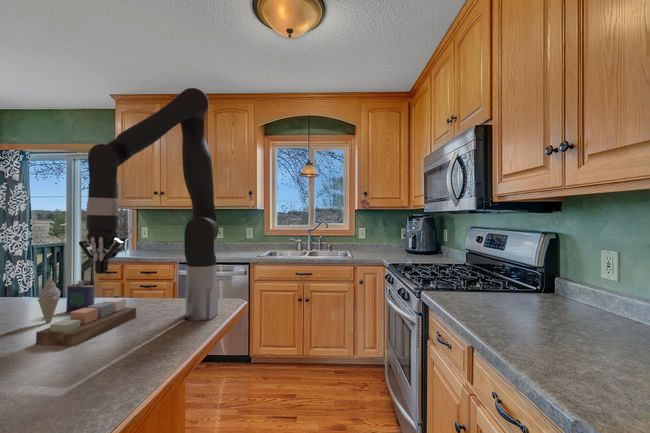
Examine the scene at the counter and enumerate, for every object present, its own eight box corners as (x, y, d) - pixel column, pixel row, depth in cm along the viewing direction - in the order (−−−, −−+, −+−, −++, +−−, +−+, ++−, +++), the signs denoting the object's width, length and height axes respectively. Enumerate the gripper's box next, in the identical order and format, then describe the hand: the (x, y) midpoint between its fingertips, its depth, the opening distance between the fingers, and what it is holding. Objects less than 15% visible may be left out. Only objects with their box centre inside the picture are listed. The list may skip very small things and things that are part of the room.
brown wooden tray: (137, 320, 98) (138, 307, 98) (74, 350, 75) (75, 334, 75) (105, 319, 99) (105, 306, 99) (33, 348, 76) (33, 332, 76)
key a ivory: (125, 308, 97) (126, 298, 97) (115, 311, 93) (116, 302, 93) (113, 307, 98) (113, 298, 98) (102, 311, 93) (103, 301, 94)
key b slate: (112, 313, 92) (112, 303, 92) (101, 317, 88) (101, 307, 88) (99, 312, 92) (99, 302, 92) (87, 317, 88) (87, 306, 88)
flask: (96, 311, 107) (96, 280, 107) (89, 313, 104) (89, 281, 105) (70, 310, 108) (71, 279, 108) (63, 312, 105) (63, 281, 105)
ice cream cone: (63, 324, 94) (64, 274, 94) (43, 329, 89) (45, 277, 89) (52, 322, 95) (54, 273, 95) (32, 327, 90) (34, 276, 91)
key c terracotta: (97, 319, 86) (97, 308, 86) (84, 324, 82) (85, 312, 82) (83, 318, 87) (83, 307, 87) (70, 323, 82) (70, 312, 83)
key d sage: (80, 331, 81) (80, 319, 81) (65, 337, 77) (65, 325, 77) (65, 330, 81) (65, 319, 81) (50, 336, 77) (50, 324, 77)
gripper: (133, 214, 93) (131, 272, 93) (92, 214, 95) (90, 270, 94) (114, 214, 86) (112, 276, 86) (70, 213, 87) (68, 274, 87)
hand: (101, 273), depth 90 cm, fingers closed
